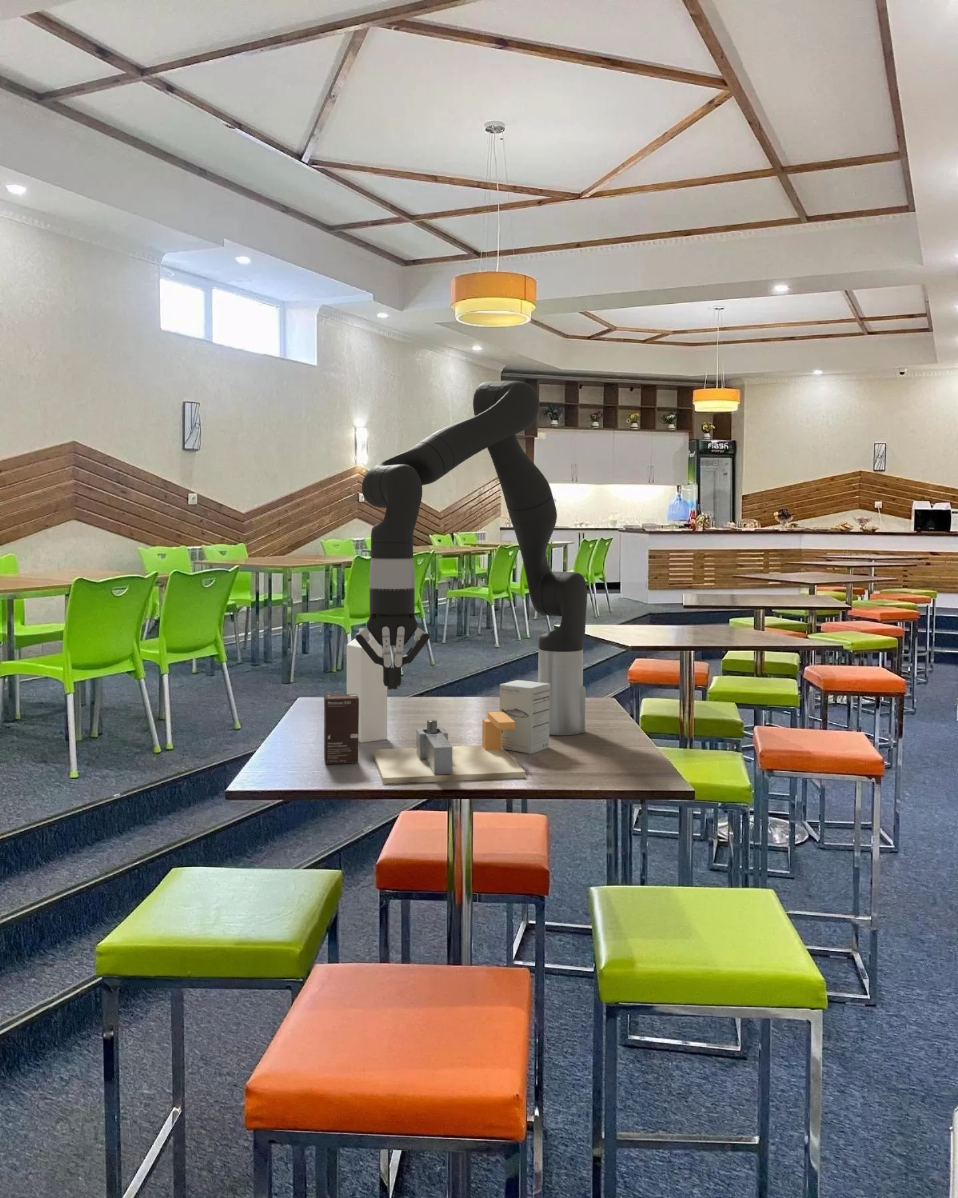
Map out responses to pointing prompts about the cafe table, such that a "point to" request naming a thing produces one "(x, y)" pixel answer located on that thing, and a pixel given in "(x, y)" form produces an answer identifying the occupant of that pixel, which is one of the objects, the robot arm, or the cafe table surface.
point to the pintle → (431, 726)
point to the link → (435, 750)
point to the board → (464, 765)
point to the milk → (367, 690)
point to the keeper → (495, 729)
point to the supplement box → (526, 715)
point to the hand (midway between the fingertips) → (392, 688)
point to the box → (341, 728)
